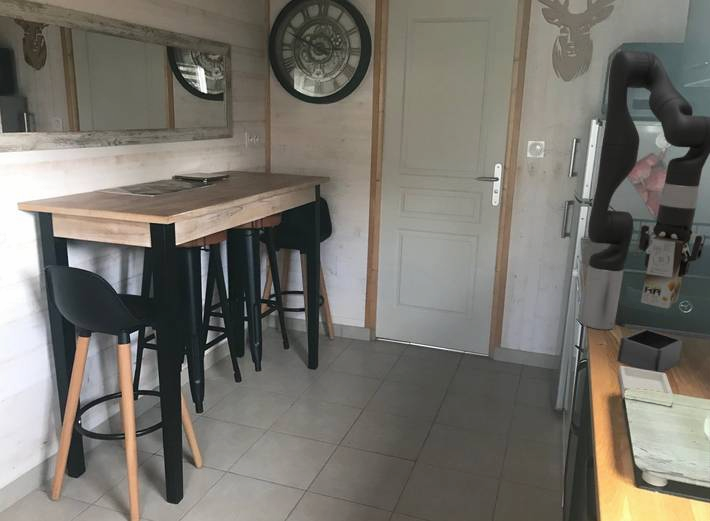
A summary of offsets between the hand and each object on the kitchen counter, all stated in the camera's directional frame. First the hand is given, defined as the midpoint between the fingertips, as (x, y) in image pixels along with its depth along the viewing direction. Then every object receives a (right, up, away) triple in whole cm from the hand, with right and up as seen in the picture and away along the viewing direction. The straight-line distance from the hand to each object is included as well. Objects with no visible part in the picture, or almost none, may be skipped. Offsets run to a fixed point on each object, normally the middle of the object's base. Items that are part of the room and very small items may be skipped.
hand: (664, 272), depth 144 cm
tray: (-10, -26, -10) cm, 30 cm away
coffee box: (0, -7, +2) cm, 8 cm away
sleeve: (-1, -22, +6) cm, 23 cm away
